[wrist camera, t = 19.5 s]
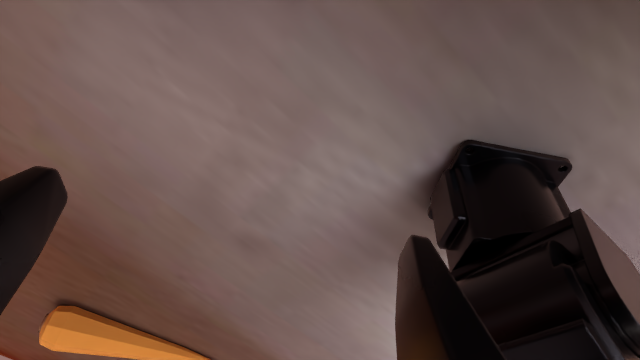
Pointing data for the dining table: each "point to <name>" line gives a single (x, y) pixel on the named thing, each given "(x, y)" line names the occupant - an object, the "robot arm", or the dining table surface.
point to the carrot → (105, 337)
